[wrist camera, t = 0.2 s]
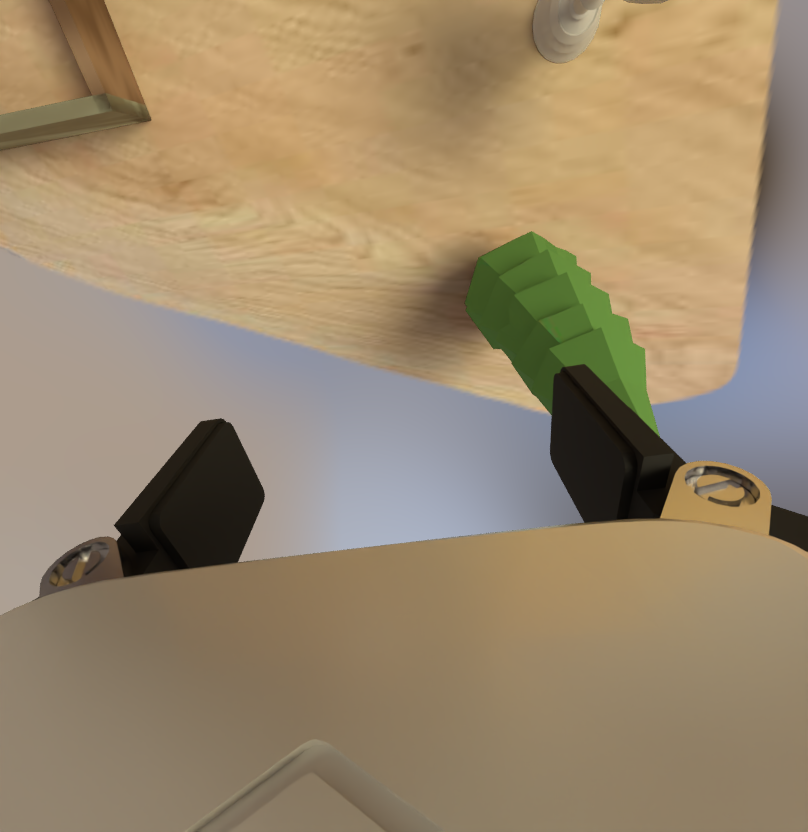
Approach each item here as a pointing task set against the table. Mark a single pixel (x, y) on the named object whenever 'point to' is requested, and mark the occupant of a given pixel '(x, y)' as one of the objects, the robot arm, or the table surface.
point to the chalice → (568, 26)
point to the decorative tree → (554, 321)
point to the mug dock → (103, 73)
